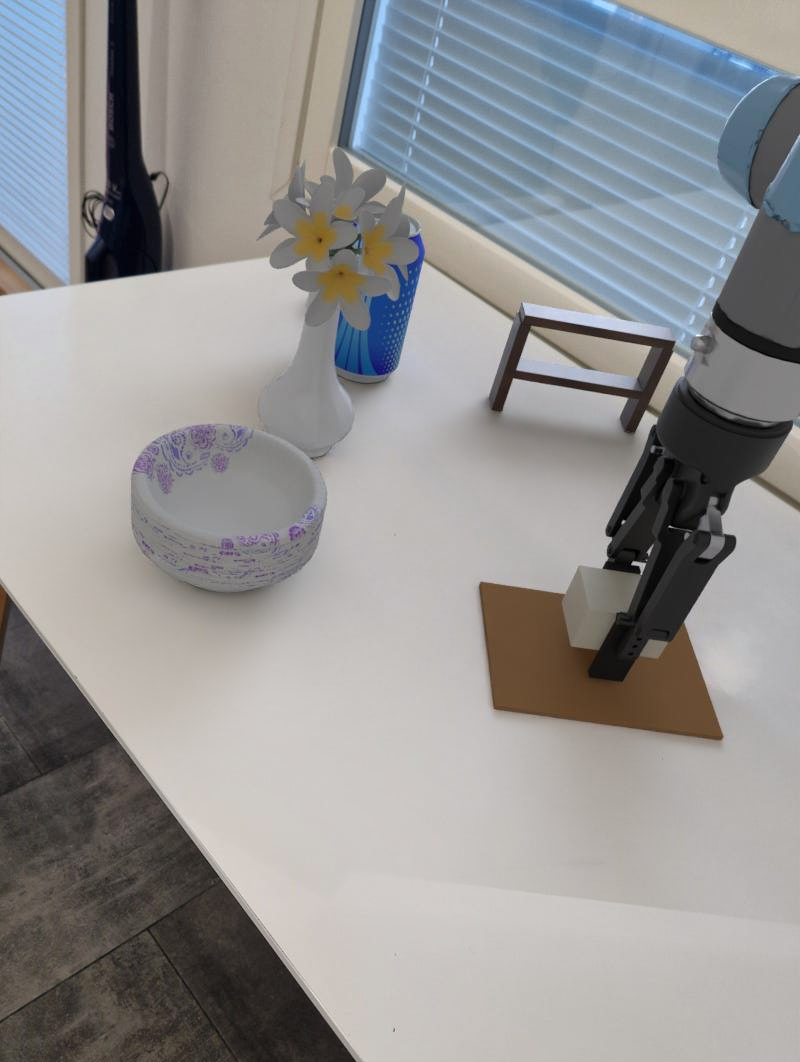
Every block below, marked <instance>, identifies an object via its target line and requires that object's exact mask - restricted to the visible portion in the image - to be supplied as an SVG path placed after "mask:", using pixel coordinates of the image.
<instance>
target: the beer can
mask: <svg viewBox="0 0 800 1062" xmlns="http://www.w3.org/2000/svg"><path fill="white" fill-rule="evenodd" d="M402 216H407V217H408V218H409V221H410V235H409V238H408V239H410V240H412V241H413V242H415V244H416V245H417V246H418V249H419V256H418V258H417V259H416V260H415V261H414V262H412V263H410V264H407V272H408V281H406V279H405V278H404V276H403V274H402V272H401V271H400V269H399V267H398V266H397V265H393V264H388V265H390V266H391V267H392V268H393V269H394V270H395V272H396V274H397V276H398V280H399V286H400V293H399V298H398V300H396V301H392V300H391V299H390V298H389V297H388V296H387V294H386V293H385V294H383V295H380V296H375V297H369V296H365V295H363V294H362V293H361V292H360V293H361V295H362V298H363V300H364V302H365V304H366V306H367V308H368V311H369V314H370V319H371V322H370V326H369V328H368V329H366V330H364V331H363V330H362V331H361V330H358V329H356V328H354V327H352V326H351V325H350V324H349V323H348V322H347V321H346V319H345V318H344V316H343V314H342V312H341V310H340V315H339V322H338V329H337V336H336V344H335V368H336V373H337V376H339V377H341V378H344V379H345V380H349V381H351V382H355V383H361V384H376V383H380V382H382V381H384V380H386V379H387V378H388V377H389V376H390V375H391V374H392V373H394V372H395V371H396V370H397V368H398V367H399V364H400V360H401V355H402V351H403V348H404V344H405V339H406V336H407V335H406V334H407V331H408V327H409V321H410V318H411V313H412V309H413V306H414V301H415V297H416V293H417V288H418V284H419V280H420V276H421V271H422V268H423V263H424V260H425V254H426V250H425V245H424V242H423V238H422V236H421V233H422V232H421V231H422V225H421V223H420V221H418V220H417V219H416V218H415V217H413V216H411V215H410V214H407V213H405V212H402V215H401V217H402ZM375 221H376V224H377V223H378V221H379V219H376V218H375ZM352 224H353V225H354V226H355V227H356V228H357V230H358V234H359V233H361V232H360V228H359V224H356V223H352ZM376 224H375V225H376ZM353 246H355V247H356V248H362V239H360V240H358V241H356V243H355V244H354V245H353ZM360 260H361V255H359V259H358V267H359V263H360ZM386 264H387V263H386ZM358 267H357V272H358Z"/></svg>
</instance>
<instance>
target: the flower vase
mask: <svg viewBox="0 0 800 1062" xmlns="http://www.w3.org/2000/svg"><path fill="white" fill-rule="evenodd" d="M332 162H333V168H334V173H335V178H334V176H331V175H328V174H323V175H320V177H319V182H320V183H316V182H315V181H312V180H311V181H310V180H307V181H305V180H306V167H307V157H305V158H304V159H303V162H302V164H298V165H297V167H296V168H295V170H294V172H293V174H292V177H291V179H290V182H289V185H288V188H287V193H286V194H285V195H284V197H283V198H278V199H276V200H274V202H273V203H272V206H271V209H272V210H271V212H270V213H269V214H268V215H267V217H266V218H265V220H264V222H263V225H264V226H266V228H265V229H264V230H263V231H262V232H261V233H260V235H259V236H258V237H257V239H256V240H255V241H256V242H258V241H259V240H261V239H263V238H264V237H266V236H267V235H269V234H271V233H273V232H274V231H276V230H278V229H280V228H282V229H283V230H284V231H286V232H287V233H288V234H289V235H292V236H293V237H288V238H286V239H284V240H283V241H282V242H280V243H279V244H278V245H277V246H276V247H275V248H274V249H273V251H272V252H271V254H270V255H269V260H268V261H269V262H268V263H269V265H270V266H271V268H273V269H276V270H281V269H287V268H289V267H292V266H294V265H296V264H298V263H299V262H301V261H303V260H305V270H301V271H298V272H295V273H294V274H293V276H292V277H291V281H292V284H293V285H294V286H295V287H296V288H298V289H299V290H301V291H304V292H308V295H307V303H306V309H305V312H304V319H303V324H302V329H301V334H300V338H299V342H298V346H297V349H296V352H295V355H294V357H293V359H292V360H291V362H290V364H289V366H288V367H287V368H286V369H285V370H284V371H283V372H281V373H280V374H278V375H276V376H275V377H274V378H272V379H271V381H269V382H268V383H267V384H266V385H265V386H264V388H263V390H262V391H261V395H260V397H259V399H258V400H257V401H258V402H257V414H258V415H257V416H258V418H259V420H260V421H261V424H262V426H263V428H264V429H265V430H266V432H267V433H269V434H272V435H275V436H277V437H279V438H281V439H283V440H285V441H287V442H289V443H291V444H292V445H294V446H295V447H297V448H298V449H300V450H301V451H302V452H303V453H305V454H306V455H307V456H308V457H309V458H310V459H314V458H319V457H322V456H324V455H326V454H327V453H329V452H330V451H331V449H332V448H333V446H335V445H336V444H338V443H339V442H342V441H343V440H344V439H345V438H346V437H347V436H348V434H349V433H350V432H351V431H352V429H353V426H354V422H355V408H354V404H353V400H352V397H351V396H350V394H349V392H348V391H347V389H346V388H345V386H344V385H343V384H342V383H341V381H340V379H339V377H338V376H339V375H338V374H337V373H336V368H335V344H336V336H337V329H338V322H339V315H340V310H341V312H342V314H343V316H344V318H345V319H346V321H347V322H348V323H349V324H350V325H351V326H352V327H354V328H356V329H358V330H361V331H362V330H363V331H364V330H366V329H368V328H369V326H370V322H371V319H370V314H369V311H368V308H367V306H366V304H365V302H364V300H363V298H362V295H361V293H362V294H363V295H365V296H369V297H375V296H380V295H383V294H385V293H386V294H387V296H388V297H389V298H390V299H391V300H392V301H396V300H398V298H399V293H400V286H399V280H398V276H397V274H396V272H395V270H394V269H393V268H392V267H391V266H390V265H388V264H393V265H397V266H398V267H399V269H400V271H401V272H402V274H403V276H404V278H405V279H406V281H408V272H407V264H410V263H412V262H414V261H415V260H416V259H417V258H418V256H419V249H418V246H417V245H416V244H415V242H413V241H412V240H410V239H408V238H409V235H410V221H409V218H408V217H407V216H402V217H401V215H402V213H403V206H404V203H405V199H406V188H407V187H406V185H407V181H406V180H405V181H403V183H402V186H401V188H400V190H399V192H398V194H397V196H394V197H393V198H392V199H391V200H390V201H389V202H388V203H387V205H385V204H384V203H381V202H380V201H377V200H371V199H373V198H374V197H375V196H376V195H378V194H379V193H380V192H381V191H383V188H384V187H385V185H386V183H387V174H386V173H385V172H384V170H382V169H380V168H370V169H367V170H365V171H363V172H362V173H360V174H359V176H357V177H356V179H354V178H355V173H354V168H353V164H352V162H351V160H350V158H349V156H348V155H347V153H346V152H345V151H344V150H343V149H342V148H340V147H334V149H333V151H332ZM305 190H306V191H307V193H308V195H309V196H310V199H309V198H307V197H306V191H305ZM307 210H308V213H309V214H308V213H307ZM375 218H376V219H379V221H378V223H377V224H376V221H375ZM353 223H356V224H359V228H360V232H361V233H359V234H358V230H357V228H356V227H355V226H354V225H353ZM375 224H376V225H375ZM360 239H362V248H356V247H355V246H353V245H354V244H355V243H356V241H358V240H360ZM359 255H361V260H360V263H359V267H358V259H359ZM386 263H387V264H386ZM357 267H358V272H357ZM360 292H361V293H360Z"/></svg>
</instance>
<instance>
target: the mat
mask: <svg viewBox="0 0 800 1062" xmlns="http://www.w3.org/2000/svg"><path fill="white" fill-rule="evenodd" d="M479 593H480V600H481V601H480V602H481V610H482V616H483V626H484V634H485V642H486V651H487V659H488V667H489V668H488V669H489V677H490V684H491V685H490V686H491V693H492V701H493V709H494V710H500V711H508V712H514V713H521V714H529V715H530V714H531V715H536V716H544V717H551V718H558V719H565V720H571V721H572V720H573V721H580V722H587V723H593V724H602V725H609V726H616V727H622V728H623V727H624V728H631V729H638V730H645V731H653V732H659V733H660V732H661V733H667V734H674V735H680V736H689V737H694V738H703V739H709V740H710V739H711V740H718V741H722V740H723V739H724V734H723V731H722V728H721V726H720V722H719V719H718V716H717V714H716V713H717V712H716V711H715V707H714V704H713V702H712V699H711V695H710V693H709V689H708V687H707V684H706V681H705V678H704V675H703V673H702V670H701V667H700V664H699V660H698V658H697V654H696V652H695V650H694V646H693V644H692V641H691V637H690V635H689V632H688V628H687V626H686V623H685V621H684V622H683V624H682V626H681V627H680V629H679V630H678V632H677V634H676V635H675V637H674V639H673V640H672V641H671V642H668V643H667V645H666V647H665V648H664V650H663V651H662V653H661V655H660V656H659V658H658V659H656V658H649V657H642V656H639V657H638V659H636V660H635V662H634V664H633V665H632V667H631V669H630V670H629V672H628V674H627V675H626V677H625V679H624V680H623V682H619V681H612V680H605V679H597V678H590V677H589V674H588V669H589V667H590V665H591V664H592V662H593V660H594V658H595V656H596V654H597V653H598V651H599V650H593V649H586V648H579V647H572V646H571V645H570V640H569V635H568V630H567V626H566V621H565V616H564V611H563V607H562V600H563V598H564V596H565V594H566V593H560V592H554V591H548V590H540V589H534V588H527V587H521V586H520V587H519V586H513V585H506V584H501V583H493V582H486V581H480V582H479Z"/></svg>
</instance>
